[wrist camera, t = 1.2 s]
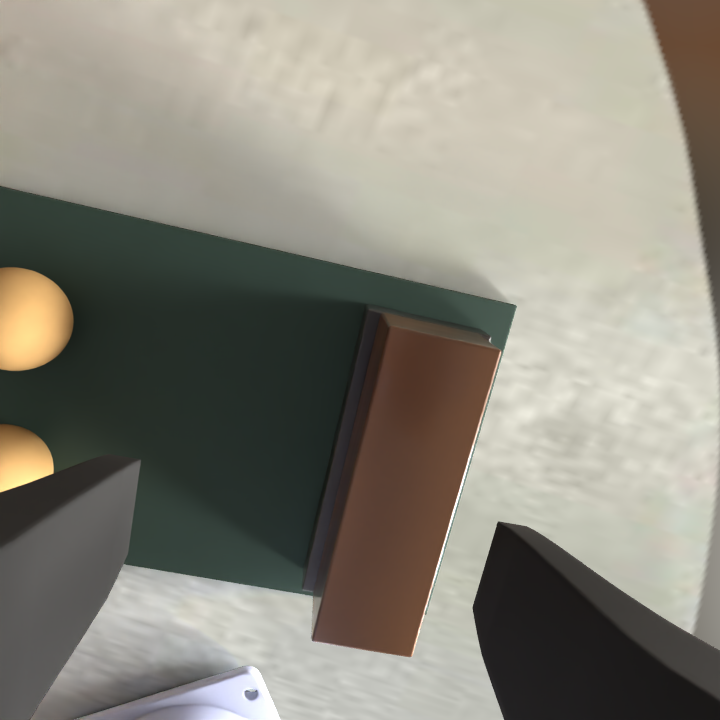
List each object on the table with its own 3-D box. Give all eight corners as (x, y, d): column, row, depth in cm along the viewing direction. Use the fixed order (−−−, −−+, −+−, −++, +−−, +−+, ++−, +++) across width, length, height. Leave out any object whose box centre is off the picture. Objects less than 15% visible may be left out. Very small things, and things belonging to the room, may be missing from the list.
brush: (482, 329, 19) (517, 353, 15) (408, 588, 21) (424, 661, 18) (365, 302, 19) (374, 321, 15) (302, 570, 21) (297, 640, 17)
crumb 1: (105, 340, 18) (63, 363, 15) (18, 369, 18) (-41, 397, 16) (65, 250, 18) (13, 256, 15) (-26, 281, 18) (-95, 292, 15)
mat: (514, 304, 19) (517, 305, 19) (424, 610, 22) (426, 615, 21) (-376, 99, 16) (-389, 97, 16) (-356, 478, 19) (-367, 482, 19)
